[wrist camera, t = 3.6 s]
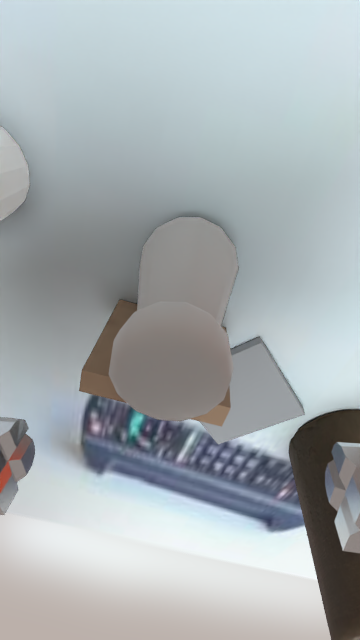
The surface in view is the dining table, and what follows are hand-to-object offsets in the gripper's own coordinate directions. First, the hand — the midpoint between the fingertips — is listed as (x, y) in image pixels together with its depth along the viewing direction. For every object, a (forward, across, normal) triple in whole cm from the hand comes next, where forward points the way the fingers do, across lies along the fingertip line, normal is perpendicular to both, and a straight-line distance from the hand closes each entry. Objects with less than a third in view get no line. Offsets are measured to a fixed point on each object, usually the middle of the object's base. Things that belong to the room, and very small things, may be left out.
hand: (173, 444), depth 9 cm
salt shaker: (+15, +1, 0) cm, 15 cm away
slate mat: (+15, -3, +12) cm, 19 cm away
